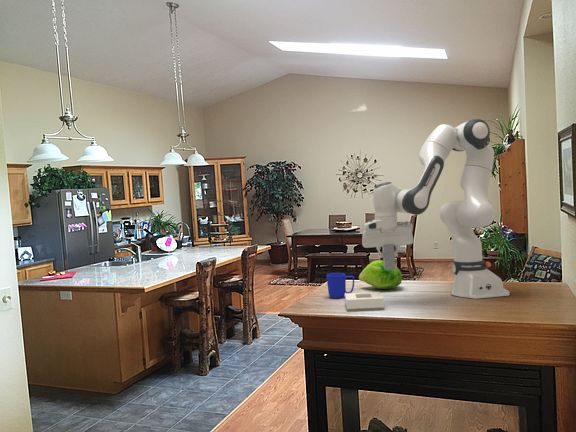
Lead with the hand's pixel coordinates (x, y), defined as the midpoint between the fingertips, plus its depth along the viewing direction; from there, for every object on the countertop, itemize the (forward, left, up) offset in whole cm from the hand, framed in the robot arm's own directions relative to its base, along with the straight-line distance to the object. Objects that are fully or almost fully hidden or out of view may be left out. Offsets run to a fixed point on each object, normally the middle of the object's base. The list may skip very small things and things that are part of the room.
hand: (388, 257), depth 204 cm
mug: (+19, -14, -19) cm, 30 cm away
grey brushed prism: (0, 0, -5) cm, 5 cm away
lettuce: (0, -27, -19) cm, 33 cm away
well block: (+11, +6, -18) cm, 22 cm away
